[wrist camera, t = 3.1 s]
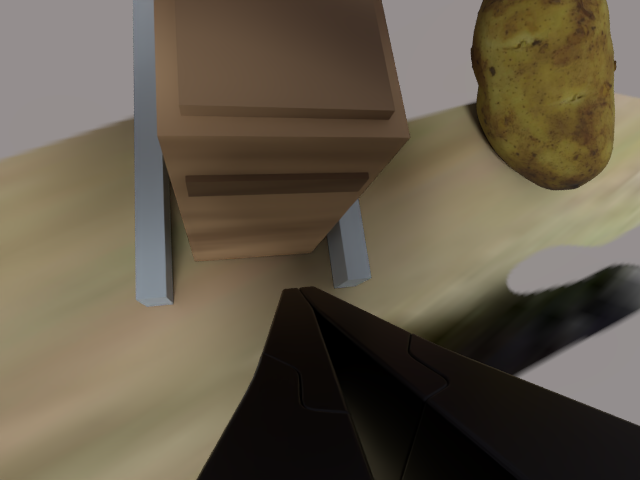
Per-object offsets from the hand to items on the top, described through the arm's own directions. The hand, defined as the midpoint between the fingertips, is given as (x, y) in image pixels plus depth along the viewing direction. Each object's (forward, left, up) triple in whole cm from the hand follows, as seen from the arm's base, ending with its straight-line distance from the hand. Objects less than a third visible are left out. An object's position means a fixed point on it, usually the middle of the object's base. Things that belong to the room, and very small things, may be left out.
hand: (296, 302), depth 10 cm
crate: (+7, 0, -10) cm, 12 cm away
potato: (+13, -18, -10) cm, 24 cm away
